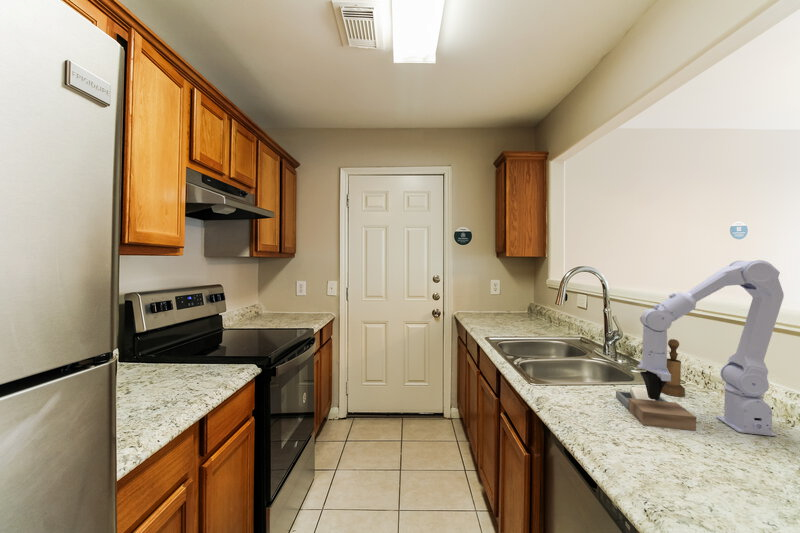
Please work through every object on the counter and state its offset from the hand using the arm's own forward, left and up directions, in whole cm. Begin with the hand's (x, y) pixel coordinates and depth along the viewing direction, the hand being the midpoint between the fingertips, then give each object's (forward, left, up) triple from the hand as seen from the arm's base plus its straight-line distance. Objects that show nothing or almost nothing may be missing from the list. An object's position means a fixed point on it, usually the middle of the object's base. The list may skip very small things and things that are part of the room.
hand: (653, 398), depth 102 cm
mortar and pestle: (+21, -14, -4) cm, 26 cm away
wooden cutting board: (-4, 0, -4) cm, 6 cm away
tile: (+6, 0, -1) cm, 6 cm away
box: (+6, 0, -4) cm, 8 cm away
